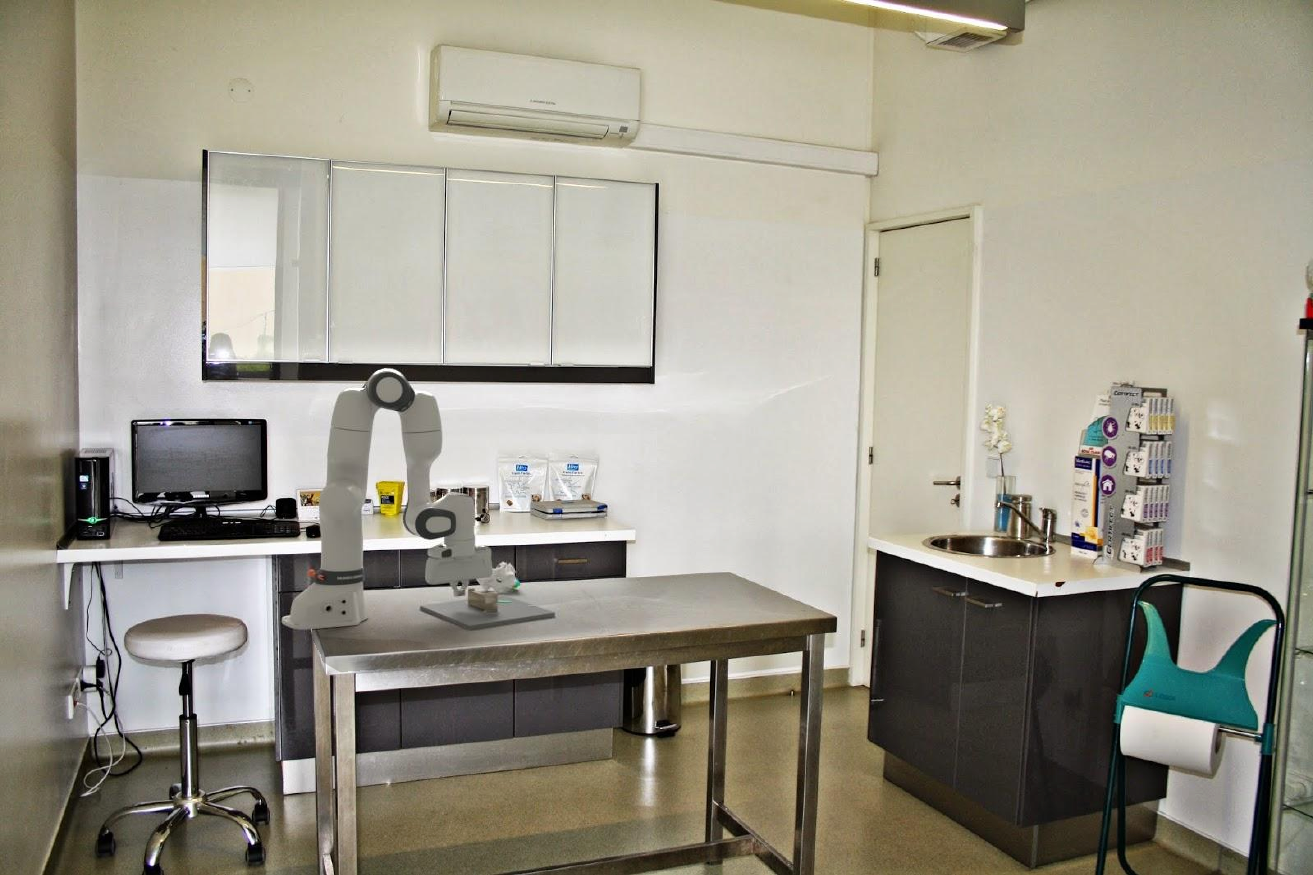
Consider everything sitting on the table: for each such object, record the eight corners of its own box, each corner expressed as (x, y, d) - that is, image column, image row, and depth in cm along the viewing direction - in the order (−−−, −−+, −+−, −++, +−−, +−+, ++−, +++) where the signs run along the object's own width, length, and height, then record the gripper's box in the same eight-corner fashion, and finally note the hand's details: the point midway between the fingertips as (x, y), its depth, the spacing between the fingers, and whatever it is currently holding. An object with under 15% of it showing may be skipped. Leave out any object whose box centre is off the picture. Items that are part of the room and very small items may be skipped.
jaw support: (504, 586, 312) (489, 562, 316) (490, 603, 316) (476, 579, 320) (531, 581, 321) (517, 558, 325) (517, 598, 325) (503, 575, 329)
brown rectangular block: (489, 613, 283) (489, 595, 282) (464, 603, 293) (464, 586, 293) (500, 611, 285) (500, 593, 285) (475, 602, 296) (475, 585, 295)
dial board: (469, 630, 269) (469, 624, 269) (420, 609, 290) (420, 605, 290) (554, 616, 288) (554, 611, 288) (502, 598, 309) (502, 594, 309)
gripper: (485, 543, 296) (485, 589, 297) (422, 550, 283) (422, 598, 284) (496, 546, 291) (496, 593, 292) (433, 553, 278) (433, 602, 279)
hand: (459, 595), depth 288 cm, fingers closed
